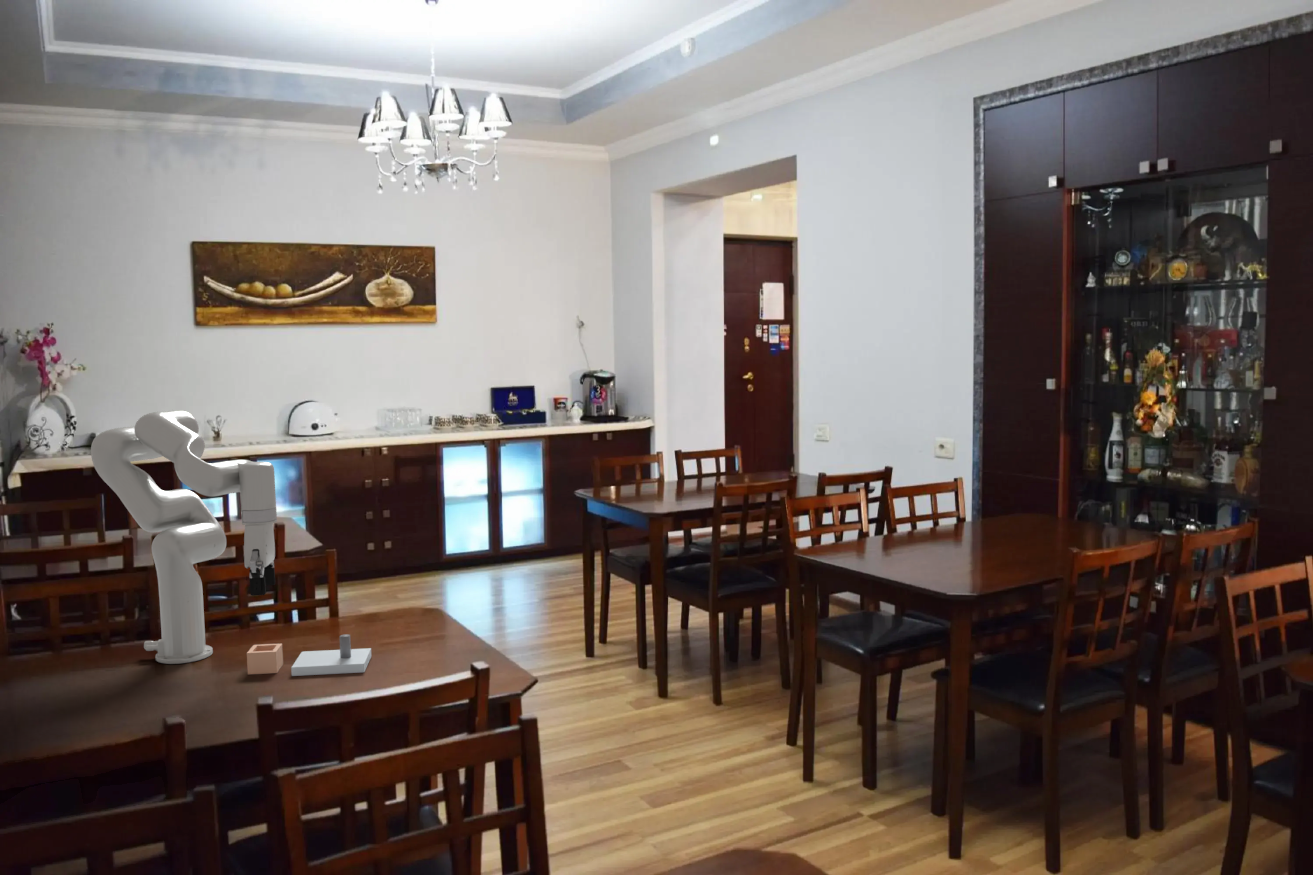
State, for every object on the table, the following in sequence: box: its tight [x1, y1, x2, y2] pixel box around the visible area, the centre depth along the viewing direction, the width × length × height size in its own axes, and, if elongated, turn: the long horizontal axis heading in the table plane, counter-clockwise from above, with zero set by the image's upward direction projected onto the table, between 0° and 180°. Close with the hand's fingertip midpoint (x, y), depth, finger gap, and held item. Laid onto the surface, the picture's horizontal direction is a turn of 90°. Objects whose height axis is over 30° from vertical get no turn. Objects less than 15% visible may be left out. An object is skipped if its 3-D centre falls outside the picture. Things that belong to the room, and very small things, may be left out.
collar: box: [246, 643, 284, 675], centre depth 239 cm, size 6×6×5 cm
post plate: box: [290, 633, 372, 677], centre depth 241 cm, size 16×12×7 cm
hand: (263, 589), depth 238 cm, fingers open, 9 cm apart
